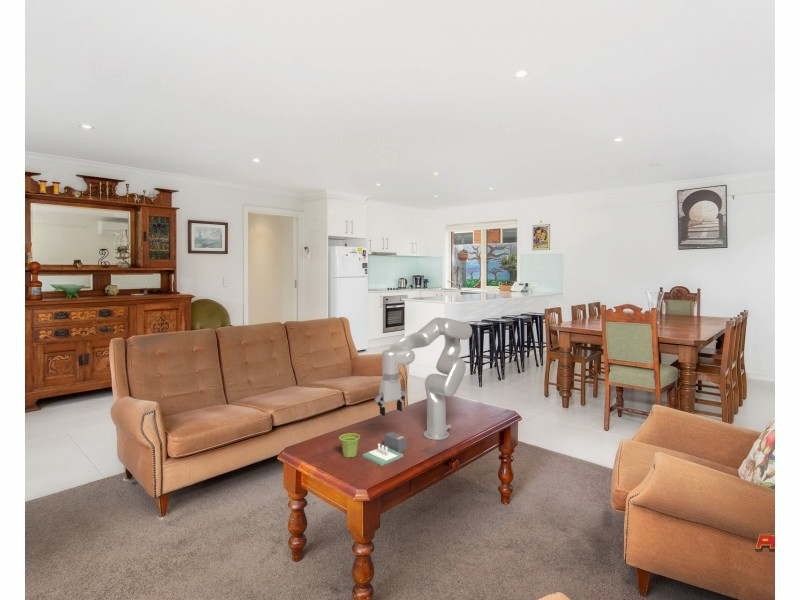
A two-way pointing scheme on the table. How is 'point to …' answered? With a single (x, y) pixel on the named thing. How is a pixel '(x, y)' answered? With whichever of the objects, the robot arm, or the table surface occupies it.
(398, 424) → the table surface
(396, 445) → the block
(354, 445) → the plant pot
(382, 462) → the header board
